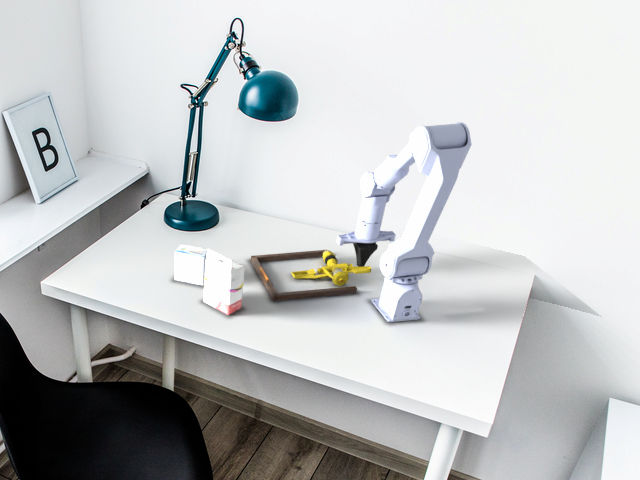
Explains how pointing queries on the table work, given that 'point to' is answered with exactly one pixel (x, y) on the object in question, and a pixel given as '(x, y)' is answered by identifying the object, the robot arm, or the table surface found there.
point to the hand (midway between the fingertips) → (359, 266)
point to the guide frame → (295, 294)
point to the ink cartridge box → (223, 283)
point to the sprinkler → (332, 270)
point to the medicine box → (190, 264)
